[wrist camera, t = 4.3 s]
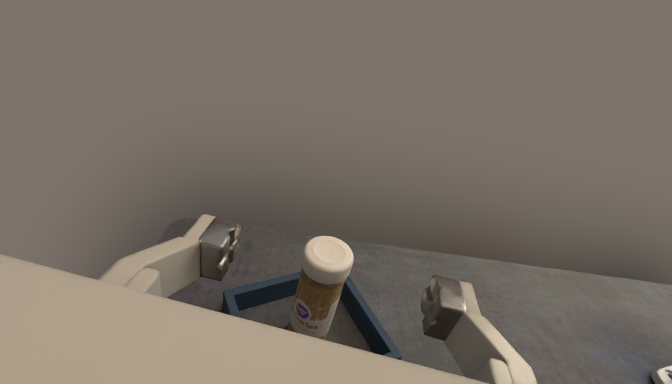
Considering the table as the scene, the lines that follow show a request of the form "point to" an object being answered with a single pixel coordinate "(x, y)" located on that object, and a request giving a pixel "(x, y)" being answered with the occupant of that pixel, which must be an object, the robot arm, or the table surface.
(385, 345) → the square frame
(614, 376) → the table surface
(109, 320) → the robot arm
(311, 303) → the sprinkles bottle
